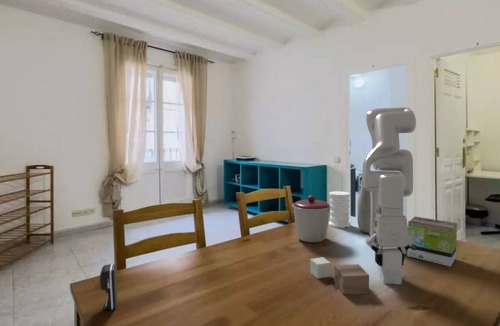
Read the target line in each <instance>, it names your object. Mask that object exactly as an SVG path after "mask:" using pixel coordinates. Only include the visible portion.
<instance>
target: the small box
mask: <svg viewBox="0 0 500 326" xmlns="http://www.w3.org/2000/svg"><path fill="white" fill-rule="evenodd" d="M381 254H382V266H379V265H378V264H377V274H378V275H379V277H380V279H381V281H382V283H383V284H384V285H387V284H388V285H400V286H401V285H402V283H403V266H402V253H401V252H400V250H399V249H398V248H397V247H388V248H384V247H383V250H382V252H381Z"/></svg>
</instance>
